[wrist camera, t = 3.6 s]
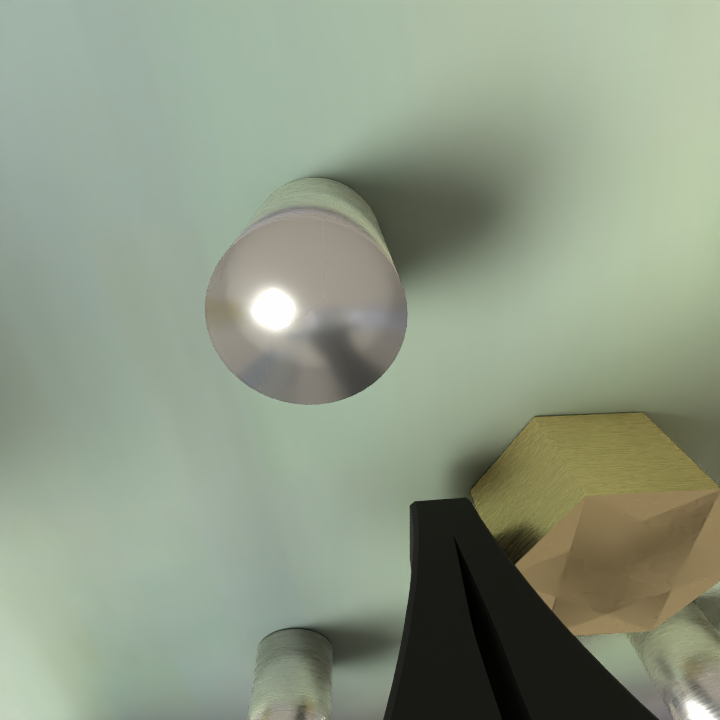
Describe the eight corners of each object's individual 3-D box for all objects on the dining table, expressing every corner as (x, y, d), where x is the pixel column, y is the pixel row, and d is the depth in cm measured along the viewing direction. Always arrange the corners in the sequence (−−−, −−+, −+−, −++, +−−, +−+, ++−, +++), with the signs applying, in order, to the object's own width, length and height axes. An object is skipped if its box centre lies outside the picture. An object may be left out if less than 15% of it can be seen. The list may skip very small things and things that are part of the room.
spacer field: (936, 137, 8) (1300, 152, 5) (687, 639, 16) (774, 769, 12) (126, 189, 8) (-7, 238, 5) (263, 674, 15) (245, 816, 12)
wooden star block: (695, 410, 11) (787, 485, 9) (642, 540, 13) (705, 627, 11) (479, 419, 11) (517, 498, 8) (461, 550, 13) (488, 641, 11)
